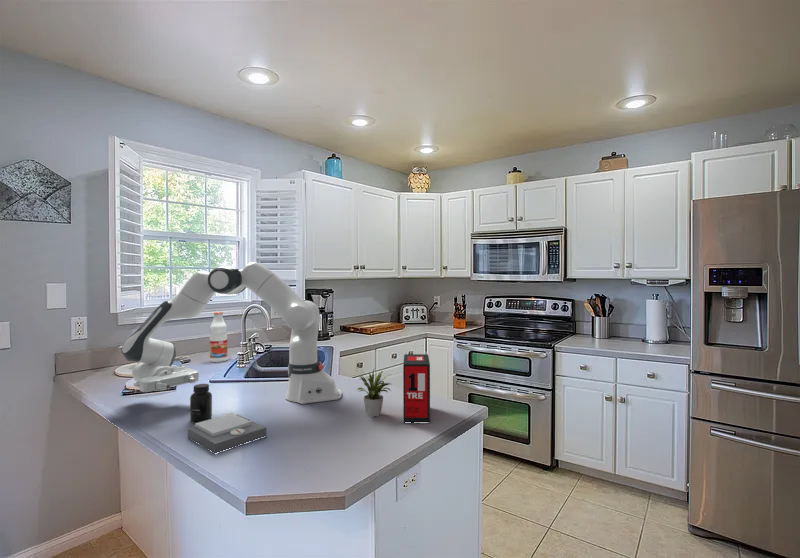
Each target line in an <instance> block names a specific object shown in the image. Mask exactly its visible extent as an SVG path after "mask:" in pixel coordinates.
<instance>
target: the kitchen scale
mask: <svg viewBox="0 0 800 558" xmlns="http://www.w3.org/2000/svg"><path fill="white" fill-rule="evenodd" d="M264 436H267V426H264V425H263V424H260V423H258V422H255V421H254V420H252V419H251V420H250V419H249V418H247V417H244V416H242V415H240V414H234V413H232V412H231V413H228V414H225V415H222V416H217V417H214V418H211V419H210V420H206V421H202V422H199V423H194V426H191V427H187V438H188V439H189V438H190V439H189V440H191V439H192V440H193V442H194V441H195V442H194V443H196V442H197V443H199V444H200V445H202V446H204V447H205V448H207V449H209V450H211V451H212V452H214V453H217V452H220V451H223V450H226V449H229V448H232V447H235V446H238V445H240V444H244V443H246V442H249V441H253V440H255V439H258V438H261V437H264ZM192 440H191V441H192ZM253 442H254V441H253ZM197 443H196V444H197ZM199 444H198V445H199ZM200 445H199V446H200ZM244 445H245V444H244ZM202 446H201V447H202ZM204 447H203V448H204ZM205 448H204V449H205ZM207 449H206V450H207ZM209 450H208V451H209ZM212 452H211V453H212ZM214 453H213V454H214Z"/></svg>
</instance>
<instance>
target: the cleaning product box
mask: <svg viewBox="0 0 800 558" xmlns="http://www.w3.org/2000/svg"><path fill="white" fill-rule="evenodd" d="M429 358H430V357H429V354H426V353H424V354H423V353H422V354H421V353H420V354H419V353H417V354H416V353H413V354H412V353H411V354H408V353H405V354H404V355H403V363H402V366H403V369H402V370H403V372H402V375H403V376H402V377H403V378H402V379H403V380H402V381H403V382H402V383H403V387H402V388H403V390H402V391H403V404H402V405H403V424H406V423H405V422H411V423H410V424H415V423H414V422H430V423H431V364H430V359H429Z"/></svg>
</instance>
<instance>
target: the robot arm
mask: <svg viewBox="0 0 800 558" xmlns="http://www.w3.org/2000/svg"><path fill="white" fill-rule="evenodd" d="M246 289H248V290H249V291H251V292H253V294H255V295H256V296H258V297H259V298H260V299H261V300H262V301H264V302H265V303H266V304H267V305H268V306H270V307H271V308H272V310H273V311H275V313H276V314H277V316H279V318H281V319H282V320H283V322H284V323H285V324H286V325H287V327H288V328H290V329H291V333H290V339H289V340H290V341H289V345H288V348H289V352H288V353H289V354H288V355H289V356H288V357H289V358H288V359H289V362H288V365H287V374H288V385H287V391H286V395H285V399H286V401H289V402H294V403H298V404H302V405H303V404H304V405H305V404H312V403H320V402H328V401H337V400H339V399H341V398H342V396H343V393H342V390H341V389H340V388H337V384H336V380H335V379H334V377H332V376H331V375H329V373H326V372H325V371H323V369H324V365H323V363H322V362H321V361H319V360H318V337H319V327H320V309H319V307H318V305H317V304H316V303H314V302H313V301H312V300H303V299H302V298H301V297H300V296H299V295H298V294H297V293H296V292H295V290H293V289H292V287H291V286H290V285H289V284H287V282H285V281H284V280H283V279H282V278H280V277H279V276H278V275H277V274H275V272H273V271H272V270H270V269H269V268H268V267H266V266H264V265H263V264H260V263H259V262H256V261H251V262H248V263H247V264H246V265H244V266H243V267H242V268H241V269H239V268H235V267H233V266H222V265H221V266H218V267H216V268H213V269H212V270H211V271H210V272H209V271H205V270H198V271H196V272H194V274H192V275H191V277H190V278H189V279H188V280H187V281H186V283H185V284H184V286H182V288H181V290H180V291H179V292H178V293H177V294H176V295H175V296H174V297H173V298H171V299H169V300H165V301H163V302H162V303H161V304H159V306H157V308H156V309H154V311H152V312H151V314H150V315H149V316H148V317H147V319H145V321H144V322H143V323H142V324H140V326H139V328H137V330H136V331H135V332H133V333H132V334H130V336H128V338H126V339H125V341H124V342H123V344H122V346H121V354H122V356H123V357H124V358H125V360H126V361H127V362H134V363H135V362H136V363H137V364H136V365H135V366H134V367H133V369H132V372H131V375H132V378H133V379H134V381H135V382H134V383H133V386H134V387H138V388H137V389H138V390H139V391H141V392H142V393H150V392H155V391H165V390H168V389H170V388H173V387H177V386H180V385H181V386H182V385H185V384H195V383H196V382H198V381H199V380H200V371H198V370H196V369H193V368H188V367H186V366H185V365H176V366H175V365H174V366H173V364H174V362H175V359H176V357H177V352H176V347H175V345H174V344H173V343H172V342H169V341H166V340H161V339H157V338H154V337H153V338H152V336H153V335H154V333H156V331H157V330H158V329H159V328H160V327H161V325H163V324H164V323H165V322H167V321H170V320H176V319H191V318H194V317H197V316H199V315H200V314H201V313H202V312H203V311H204V309H206V307H207V305H209V302H210V300H211V299H212V297H213V296H214V295H215V294H223V295H237V294H240V293H242V292H244V291H245V290H246Z"/></svg>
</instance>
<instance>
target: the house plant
mask: <svg viewBox="0 0 800 558" xmlns="http://www.w3.org/2000/svg"><path fill="white" fill-rule="evenodd" d="M383 372H384V370H381V371H380V372H379V373H378V374H377V376H375V369H372V372H371V373H372V374H371V373H370V372H368V375H369V376H368V375H367V374H365V372H361V373H362V374H360V373H359V374H358V375H357V377H358V378H360V380H362V382H363V385H364V386H365V387H366V388H367V390H366V389H365V388H363V387H358V388H357V389H356V391H357V393H358V392H366V393H367V394H366V395H364V396H363V403H364V407H365V415H366V414H367V415H368V416H367V415H366V416H367V417H370V416H376V417H380V416H381V415H380V414H382V410H383V409H382V408H383V403H384V402H383V401H384V396H383V395H381V393H382V392H385V393H388V390H389V391H390V392H392V390H391V389H390V388H389V387H386V386H389V385H391V383H390V382H384V380H386V379H387V377H389V376H390V374H387V375H386V376H384V377H383V378H382V374H383ZM363 374H365V376H366V378H367V379H366V378H365V377H364V376H363ZM351 376H355V377H356V375H351ZM367 380H368V381H367ZM379 415H380V416H379Z"/></svg>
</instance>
